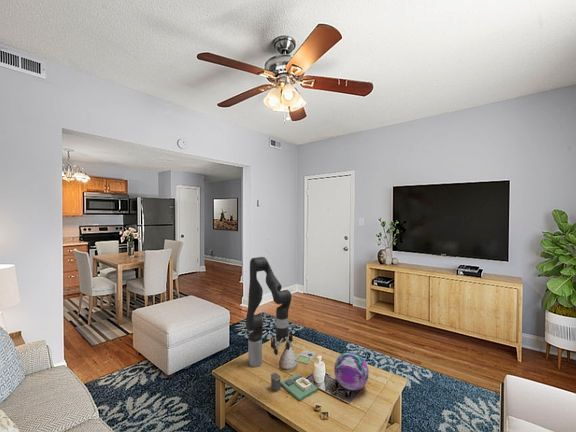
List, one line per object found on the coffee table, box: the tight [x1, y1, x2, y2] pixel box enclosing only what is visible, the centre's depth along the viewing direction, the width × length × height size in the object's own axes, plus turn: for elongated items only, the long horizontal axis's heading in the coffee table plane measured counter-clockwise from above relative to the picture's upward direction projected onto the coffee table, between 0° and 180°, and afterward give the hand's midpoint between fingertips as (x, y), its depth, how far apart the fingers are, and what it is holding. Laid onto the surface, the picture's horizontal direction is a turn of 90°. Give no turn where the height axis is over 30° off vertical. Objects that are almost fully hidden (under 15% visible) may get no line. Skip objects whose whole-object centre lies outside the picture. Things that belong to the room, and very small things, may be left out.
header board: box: [280, 373, 319, 402], centre depth 162 cm, size 18×14×4 cm
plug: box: [270, 371, 282, 392], centre depth 161 cm, size 5×4×8 cm
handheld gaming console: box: [296, 350, 317, 365], centre depth 195 cm, size 10×2×15 cm
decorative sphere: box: [333, 351, 370, 391], centre depth 162 cm, size 20×20×20 cm
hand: (281, 351), depth 158 cm, fingers open, 8 cm apart
